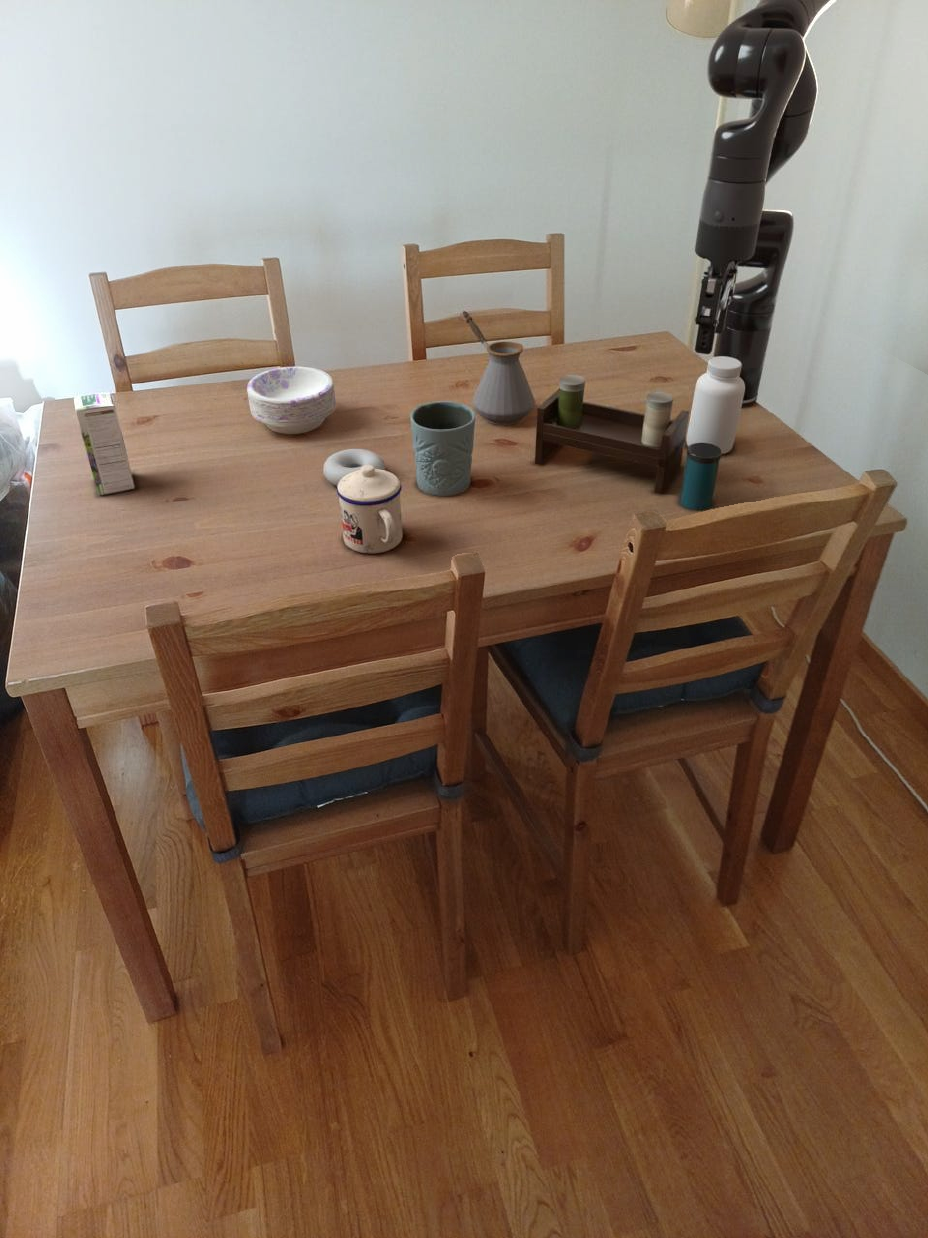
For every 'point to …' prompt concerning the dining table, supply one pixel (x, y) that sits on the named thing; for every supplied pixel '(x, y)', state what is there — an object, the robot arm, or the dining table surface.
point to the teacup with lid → (370, 510)
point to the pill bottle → (717, 404)
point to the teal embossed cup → (443, 446)
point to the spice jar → (700, 476)
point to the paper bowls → (291, 398)
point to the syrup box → (104, 442)
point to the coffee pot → (502, 383)
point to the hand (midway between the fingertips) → (709, 342)
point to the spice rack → (612, 429)
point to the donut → (349, 463)
